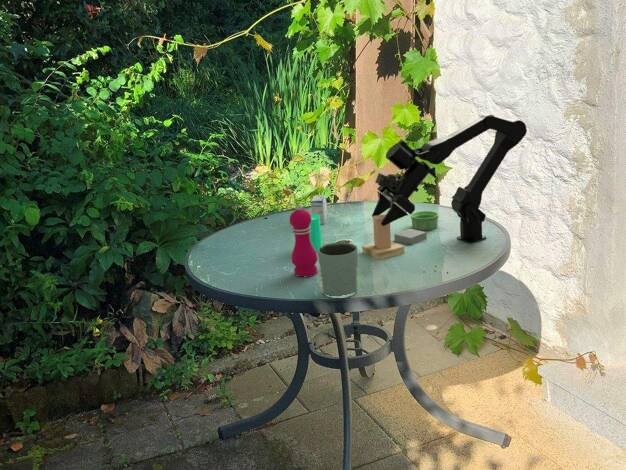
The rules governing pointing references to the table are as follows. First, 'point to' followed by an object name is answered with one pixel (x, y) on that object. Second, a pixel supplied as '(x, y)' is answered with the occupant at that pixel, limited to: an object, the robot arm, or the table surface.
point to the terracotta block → (381, 233)
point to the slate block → (410, 236)
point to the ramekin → (424, 220)
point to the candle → (315, 232)
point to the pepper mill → (303, 243)
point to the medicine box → (319, 207)
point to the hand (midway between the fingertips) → (377, 221)
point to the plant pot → (338, 268)
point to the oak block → (383, 250)
